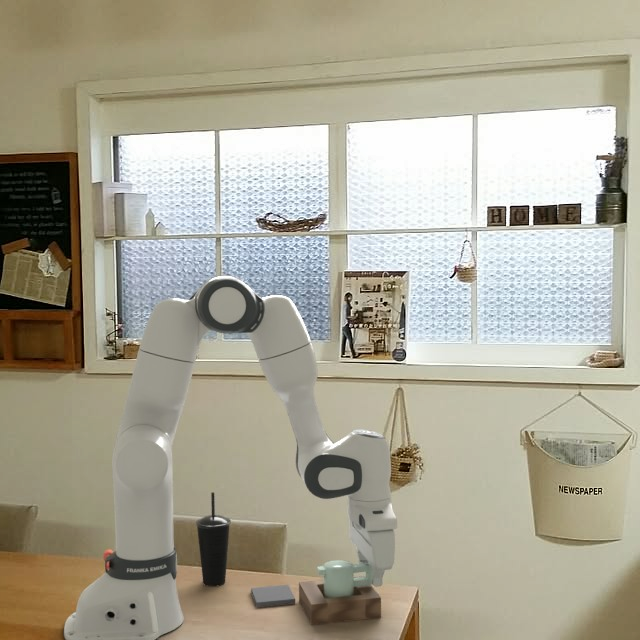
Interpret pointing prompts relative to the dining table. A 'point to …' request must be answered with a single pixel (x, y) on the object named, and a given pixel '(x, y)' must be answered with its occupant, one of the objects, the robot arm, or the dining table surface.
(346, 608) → the stand
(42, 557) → the dining table surface
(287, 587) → the mat
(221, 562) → the drinking cup
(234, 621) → the dining table surface
